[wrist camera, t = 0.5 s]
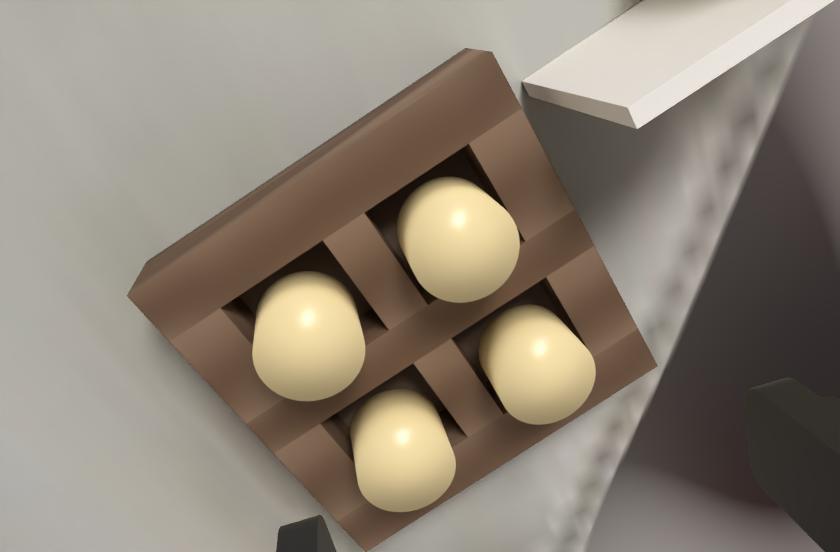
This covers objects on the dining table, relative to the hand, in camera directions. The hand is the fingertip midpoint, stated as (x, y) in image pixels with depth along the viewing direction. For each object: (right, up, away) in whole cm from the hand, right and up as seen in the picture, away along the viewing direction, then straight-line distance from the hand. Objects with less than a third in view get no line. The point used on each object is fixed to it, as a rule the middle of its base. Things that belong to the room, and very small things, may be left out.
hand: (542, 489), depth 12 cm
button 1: (-7, +2, +16) cm, 17 cm away
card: (+6, +15, +18) cm, 24 cm away
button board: (-3, +3, +20) cm, 21 cm away
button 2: (-3, -3, +18) cm, 19 cm away
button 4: (+2, +1, +18) cm, 18 cm away
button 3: (-1, +6, +15) cm, 16 cm away
